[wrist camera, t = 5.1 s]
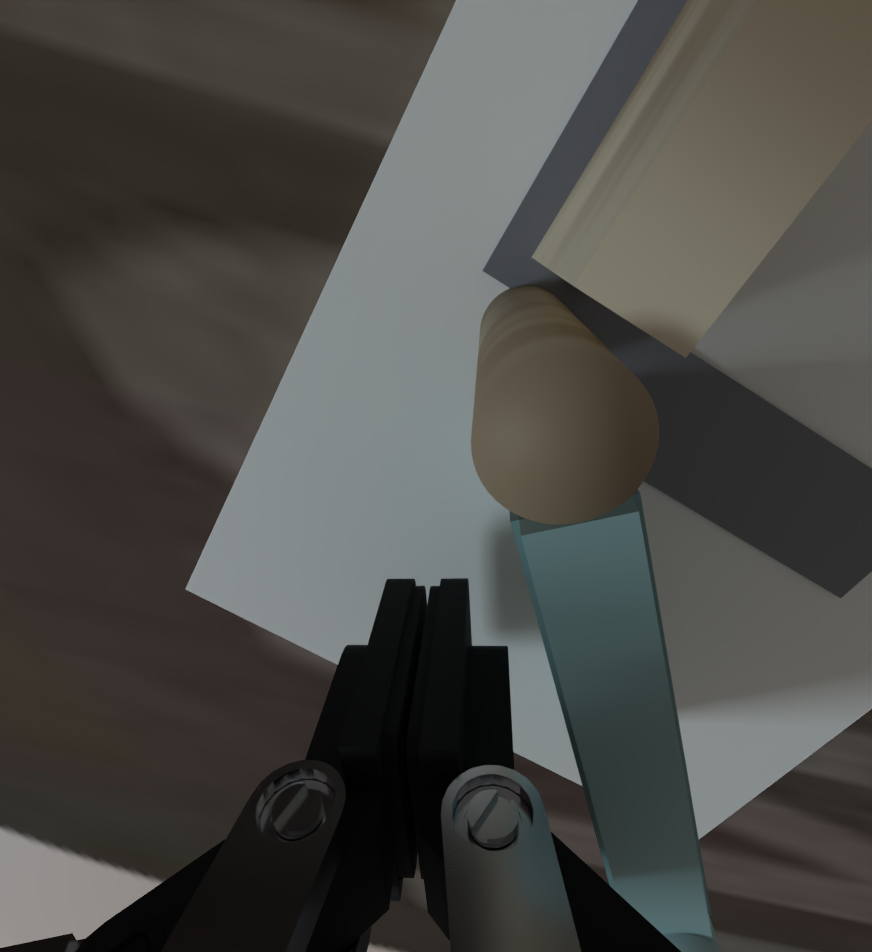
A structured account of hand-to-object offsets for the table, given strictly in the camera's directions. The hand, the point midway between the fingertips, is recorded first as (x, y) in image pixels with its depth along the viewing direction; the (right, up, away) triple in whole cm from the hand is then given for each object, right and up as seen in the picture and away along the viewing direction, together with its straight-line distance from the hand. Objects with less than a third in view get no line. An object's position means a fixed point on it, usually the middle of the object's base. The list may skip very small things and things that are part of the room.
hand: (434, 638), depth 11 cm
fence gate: (+3, +1, 0) cm, 3 cm away
